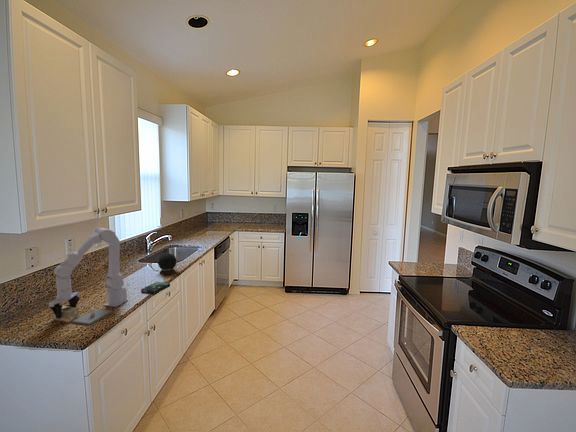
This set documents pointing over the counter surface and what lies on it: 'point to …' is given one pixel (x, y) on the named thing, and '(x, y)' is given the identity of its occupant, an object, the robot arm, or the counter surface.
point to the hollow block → (67, 314)
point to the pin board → (92, 316)
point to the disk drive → (155, 287)
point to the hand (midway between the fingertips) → (66, 314)
